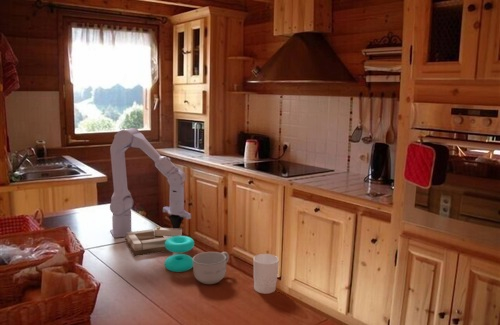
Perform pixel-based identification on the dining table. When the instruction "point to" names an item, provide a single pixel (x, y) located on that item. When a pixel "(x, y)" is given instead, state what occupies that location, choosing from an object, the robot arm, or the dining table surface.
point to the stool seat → (145, 242)
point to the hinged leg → (167, 231)
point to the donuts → (179, 260)
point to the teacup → (210, 266)
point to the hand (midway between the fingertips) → (176, 232)
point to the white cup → (265, 273)
